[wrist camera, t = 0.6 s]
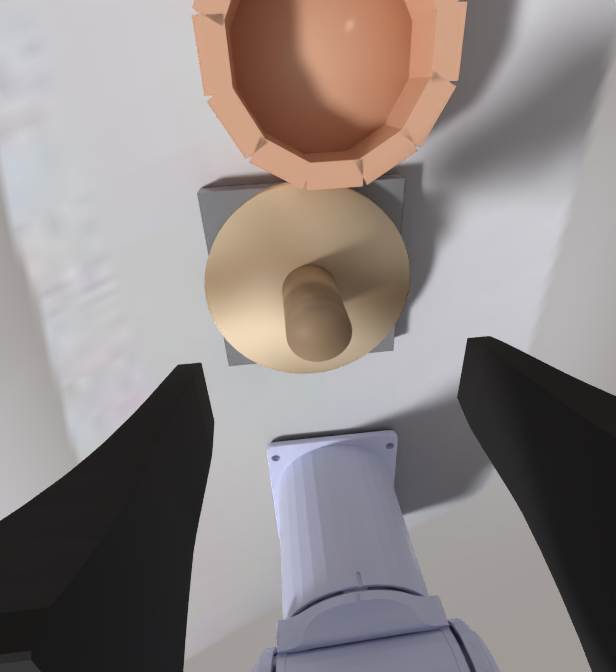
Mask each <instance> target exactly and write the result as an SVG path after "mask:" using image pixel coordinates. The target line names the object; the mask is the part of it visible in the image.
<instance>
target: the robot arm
mask: <svg viewBox="0 0 616 672" xmlns="http://www.w3.org/2000/svg"><path fill="white" fill-rule="evenodd" d="M457 398H458V400H459V402H460V405H461V407H462V410H463V412H464V415H465V417H466V419H467V421H468V423H469V425H470V428H471V429H472V431H473V433H474V435H475V436H476V438H477V440H478V441H479V443H480V444H481V446H482V448H483V449H484V451H485V453H486V454H487V456H488V457H489V459H490V461H491V462H492V464H493V465H494V467H495V469H496V470H497V472H498V473H499V475H500V477H501V478H502V480H503V481H504V483H505V485H506V486H507V488H508V489H509V491H510V493H511V494H512V496H513V498H514V499H515V501H516V503H517V505H518V506H519V508H520V510H521V511H522V513H523V515H524V517H525V519H526V521H527V523H528V525H529V527H530V529H531V531H532V534H533V536H534V538H535V540H536V541H537V544H538V546H539V548H540V550H541V552H542V554H543V557H544V559H545V561H546V563H547V565H548V567H549V570H550V572H551V574H552V576H553V578H554V581H555V583H556V585H557V587H558V589H559V592H560V594H561V596H562V599H563V601H564V604H565V606H566V608H567V611H568V613H569V615H570V618H571V620H572V623H573V625H574V627H575V630H576V632H577V634H578V637H579V639H580V642H581V644H582V647H583V649H584V652H585V655H586V657H587V660H588V663H589V665H590V668H591V670H592V672H616V396H614V395H612V394H609V393H607V392H605V391H603V390H601V389H598V388H596V387H594V386H592V385H589V384H587V383H585V382H583V381H581V380H578V379H576V378H574V377H572V376H570V375H568V374H566V373H564V372H562V371H560V370H558V369H556V368H554V367H552V366H550V365H548V364H546V363H544V362H542V361H540V360H538V359H536V358H534V357H532V356H530V355H528V354H526V353H524V352H522V351H520V350H518V349H516V348H514V347H512V346H510V345H508V344H506V343H504V342H502V341H500V340H498V339H495V338H493V337H490V336H486V337H475V338H468V339H467V344H466V350H465V356H464V362H463V367H462V373H461V379H460V385H459V391H458V396H457ZM213 434H214V418H213V414H212V409H211V405H210V400H209V395H208V391H207V386H206V382H205V377H204V373H203V368H202V364H201V363H192V364H181V365H177V366H176V367H175V369H174V370H173V371H172V372H171V373H170V374H169V375H168V376H167V377H166V379H165V380H164V381H163V382H162V383H161V384H160V385H159V386H158V388H157V389H156V390H155V391H154V392H153V393H152V394H151V395H150V396H149V398H148V399H147V400H146V401H145V402H144V403H143V404H142V405H141V406H140V407H139V408H138V409H137V411H136V412H135V413H134V414H133V415H132V416H131V417H130V418H129V419H128V420H127V421H126V422H125V423H124V424H123V425H122V426H120V427H119V428H118V429H117V430H116V431H115V432H114V433H113V434H112V435H111V436H110V437H109V438H108V439H107V440H106V441H105V442H104V443H103V444H102V445H101V446H100V447H98V448H97V449H96V450H95V451H94V452H93V453H92V454H90V455H89V456H88V457H87V458H86V459H84V460H83V461H82V462H81V463H79V464H78V465H77V466H76V467H75V468H73V469H72V470H71V471H70V472H68V473H67V474H66V475H65V476H63V477H62V478H61V479H59V480H58V481H57V482H55V483H54V484H53V485H51V486H50V487H48V488H47V489H46V490H44V491H43V492H41V493H40V494H39V495H37V496H36V497H34V498H33V499H32V500H31V501H29V502H28V503H26V504H25V505H23V506H22V507H20V508H19V509H18V510H16V511H15V512H13V513H11V514H10V515H8V516H7V517H5V518H4V519H2V520H1V521H0V672H183V666H184V652H185V638H186V626H187V614H188V603H189V591H190V581H191V571H192V561H193V552H194V545H195V539H196V533H197V528H198V523H199V518H200V513H201V508H202V503H203V498H204V493H205V488H206V484H207V478H208V473H209V468H210V463H211V458H212V448H213ZM388 443H390V444H388ZM397 445H398V436H397V434H396V432H395V431H393V430H385V431H376V432H366V433H357V434H347V435H338V436H328V437H319V438H309V439H299V440H290V441H280V442H273V443H270V444H269V445H268V446H267V458H268V465H269V472H270V479H271V486H272V493H273V500H274V507H275V513H276V520H277V527H278V534H279V539H280V547H281V575H282V602H283V620H279V621H277V623H276V629H277V631H276V632H277V648H276V647H273V648H268V649H265V650H263V652H262V653H261V655H260V658H259V660H258V661H257V663H256V664H255V666H254V668H253V669H252V672H500V671H499V668H498V666H497V664H496V662H495V660H494V658H493V656H492V654H491V653H490V651H489V649H488V647H487V646H486V644H485V643H484V641H483V640H482V639H481V637H480V636H479V635H478V634H477V633H475V632H474V631H473V630H472V629H470V627H469V626H468V625H467V624H466V623H465V622H464V621H462V620H461V619H458V618H455V619H448V620H447V618H446V615H445V612H444V609H443V606H442V604H441V601H440V598H439V596H429V594H428V591H427V588H426V585H425V582H424V579H423V576H422V573H421V570H420V567H419V564H418V561H417V558H416V555H415V551H414V548H413V546H412V542H411V539H410V536H409V533H408V530H407V527H406V524H405V521H404V518H403V515H402V512H401V509H400V506H399V503H398V499H397V496H396V493H395V490H394V480H395V468H396V457H397ZM274 455H278V456H274Z"/></svg>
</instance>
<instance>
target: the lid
mask: <svg viewBox="0 0 616 672" xmlns="http://www.w3.org/2000/svg"><path fill="white" fill-rule="evenodd" d="M409 284H410V266H409V258H408V254H407V250H406V247H405V244H404V242H403V239H402V237H401V235H400V233H399V231H398V230H397V228H396V227H395V225H394V223H393V222H392V221H391V220H390V218H389V217H388V216H387V215H386V214H385V213H384V212H383V211H382V210H381V209H380V208H379V207H378V206H377V205H376V204H375V203H374V202H373V201H371V200H370V199H369V198H367V197H366V196H364V195H363V194H361V193H360V192H358V191H356V190H354V189H352V188H349V187H348V188H334V189H320V190H307V189H306V187H305V185H304V187H303V190H302V189H300V188H299V187H297V186H295V185H293V184H291V183H289V182H284V183H281V184H277V185H274V186H271V187H269V188H267V189H265V190H262V191H260V192H258V193H257V194H255V195H253V196H252V197H250V198H249V199H247V200H246V201H245V202H244V203H242V204H241V205H240V206H239V207H237V208H236V209H235V210H234V212H233V213H232V214H231V215H230V216H229V217H228V218H227V219H226V221H225V222H224V224H223V225H222V227H221V228H220V230H219V232H218V234H217V236H216V238H215V240H214V242H213V245H212V248H211V251H210V254H209V257H208V260H207V265H206V271H205V293H206V300H207V304H208V307H209V311H210V313H211V316H212V318H213V320H214V323H215V324H216V326H217V328H218V329H219V331H220V333H221V334H222V335H223V336H224V338H225V339H226V340H227V341H228V342H229V343H230V344H231V345H232V346H233V347H234V348H235V349H236V350H237V351H238V352H240V353H241V354H242V355H244V356H245V357H247V358H248V359H250V360H252V361H254V362H255V363H258V364H260V365H262V366H265V367H267V368H270V369H274V370H277V371H282V372H288V373H299V374H306V373H318V372H325V371H329V370H333V369H337V368H339V367H342V366H345V365H347V364H350V363H352V362H354V361H356V360H358V359H359V358H361V357H362V356H364V355H366V354H367V353H369V352H370V351H371V350H372V349H374V348H375V347H376V346H377V345H378V344H379V343H380V342H381V341H382V340H383V339H384V338H385V337H386V336H387V335H388V333H389V332H390V331H391V330H392V328H393V327H394V325H395V324H396V322H397V320H398V319H399V317H400V315H401V313H402V310H403V308H404V306H405V302H406V299H407V295H408V290H409Z"/></svg>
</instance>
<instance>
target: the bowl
mask: <svg viewBox="0 0 616 672" xmlns="http://www.w3.org/2000/svg"><path fill="white" fill-rule="evenodd" d="M458 1H459V0H194V4H193V7H192V8H193V9H194V11H195V12H196V13H197V14H198V15H192V19H193V26H194V32H195V39H196V45H197V51H198V58H199V64H200V70H201V77H202V83H203V90H204V96H210V95H214V96H213V97H212V98H211V99H209V100H208V101H207V103H208V104H209V106H210V107H211V109H212V110H213V112H214V113H215V114H216V116H217V117H218V119H219V120H220V122H221V123H222V125H223V126H224V128H225V129H226V131H227V132H228V134H229V135H230V136H231V138H232V139H233V141H234V142H235V144H236V145H237V147H238V148H239V150H240V151H241V153H242V154H243V156H244V157H245V158H246V159H247V158H248V157H249V156H251V159H250V163H252V164H254V165H256V166H258V167H260V168H261V169H263V170H265V171H267V172H269V173H271V174H273V175H275V176H277V177H279V178H281V179H283V180H285V181H287V182H289V183H291V184H293V185H295V186H297V187H299V188H300V189H302V190H303V187H304V185H305V187H306V189H307V190H320V189H334V188H348V187H361V186H363V181H364V182H365V183H366V184H367V185H368V184H369V183H371V182H372V181H374V180H375V179H377V178H378V177H380V176H381V175H383V174H384V173H386V172H387V171H389V170H390V169H392V168H393V167H395V166H396V165H397V164H399V163H400V162H402V161H403V160H405V159H406V158H408V157H409V156H411V155H412V154H414V153H415V152H417V149H416V147H415V145H417V146H420V147H421V146H422V145H423V143H424V141H425V140H426V138H427V136H428V134H429V133H430V131H431V129H432V128H433V126H434V124H435V122H436V121H437V119H438V117H439V115H440V114H441V112H442V110H443V109H444V107H445V105H446V103H447V102H448V100H449V98H450V97H451V95H452V93H453V91H454V90H455V88H456V86H455V85H453V84H452V83H450V82H449V81H458V79H459V70H460V62H461V53H462V45H463V36H464V27H465V19H466V10H467V2H468V1H465V2H458Z"/></svg>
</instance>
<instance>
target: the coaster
mask: <svg viewBox="0 0 616 672" xmlns="http://www.w3.org/2000/svg"><path fill="white" fill-rule="evenodd" d="M281 183H284V182H278V183H264V184H250V185H236V186H222V187H208V188H200V190H199V191H198V193H197V195H198V200H199V206H200V211H201V217H202V222H203V228H204V233H205V239H206V244H207V249H208V255H209V254H210V251H211V248H212V245H213V242H214V240H215V238H216V236H217V234H218V232H219V230H220V228H221V227H222V225H223V224H224V222H225V221H226V219H227V218H228V217H229V216H230V215H231V214H232V213H233V212H234V210H235V209H236V208H237V207H239V206H240V205H241V204H242V203H244V202H245V201H246V200H247V199H249V198H250V197H252V196H253V195H255V194H257V193H258V192H260V191H262V190H265V189H267V188H269V187H271V186H274V185H277V184H281ZM404 185H405V178H404V177H402V176H401V175H399V174H390V175H381V176H380V177H378V178H377V179H375V180H374V181H372V182H371V183H369V184H368V185H367V184H366V183H365V182H364V181H363V186H361V187H349V188H352V189H354V190H356V191H358V192H360V193H361V194H363V195H364V196H366V197H367V198H369V199H370V200H371V201H373V202H374V203H375V204H376V205H377V206H378V207H379V208H380V209H381V210H382V211H383V212H384V213H385V214H386V215H387V216H388V217H389V218H390V220H391V221H392V222H393V223H394V225H395V227H396V228H397V230H398V231H399V233H400V235H401V230H402V215H403V200H404ZM394 334H395V325H394V327H393V328H392V330H391V331H390V332H389V333H388V335H387V336H386V337H385V338H384V339H383V340H382V341H381V342H380V343H379V344H378V345H377V346H376V347H375V348H374V349H372V350H371V351H370V352H369V353H373V352H384V351H393V349H394ZM224 342H225V347H226V353H227V358H228V364H229V366H235V365H246V364H256V363H255V362H254V361H252V360H250V359H248V358H247V357H245V356H244V355H242V354H241V353H240V352H238V351H237V350H236V349H235V348H234V347H233V346H232V345H231V344H230V343H229V342H228V341H227V340H226V339H225V338H224Z"/></svg>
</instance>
